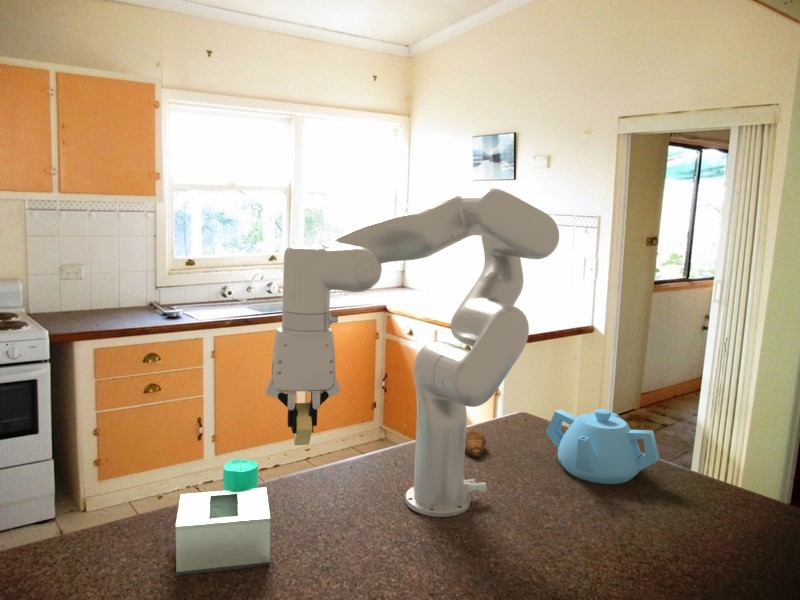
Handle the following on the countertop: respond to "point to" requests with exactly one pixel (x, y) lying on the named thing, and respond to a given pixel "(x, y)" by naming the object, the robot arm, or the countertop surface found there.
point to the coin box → (222, 531)
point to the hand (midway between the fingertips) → (301, 429)
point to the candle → (240, 475)
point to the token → (303, 425)
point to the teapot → (601, 446)
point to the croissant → (474, 443)
